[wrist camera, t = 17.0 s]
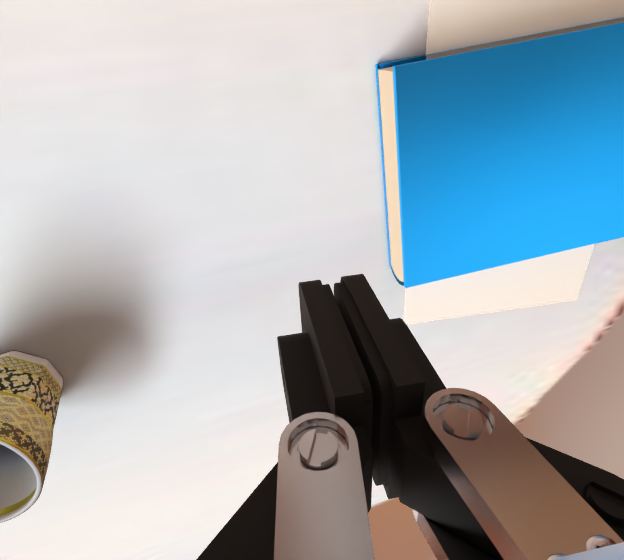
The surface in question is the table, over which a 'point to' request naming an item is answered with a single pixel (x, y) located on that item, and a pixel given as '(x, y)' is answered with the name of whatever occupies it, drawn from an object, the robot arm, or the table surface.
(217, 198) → the table surface
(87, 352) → the table surface
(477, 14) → the mat
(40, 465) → the ceramic cup
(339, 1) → the table surface
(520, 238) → the book
